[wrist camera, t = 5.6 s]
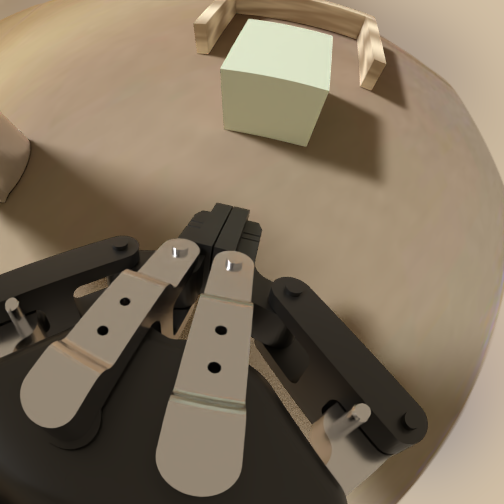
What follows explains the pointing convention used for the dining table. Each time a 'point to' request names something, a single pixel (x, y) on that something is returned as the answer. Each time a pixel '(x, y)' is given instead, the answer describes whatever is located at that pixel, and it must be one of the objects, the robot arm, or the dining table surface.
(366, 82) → the birch corral
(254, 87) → the sage block
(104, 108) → the dining table surface
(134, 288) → the robot arm
